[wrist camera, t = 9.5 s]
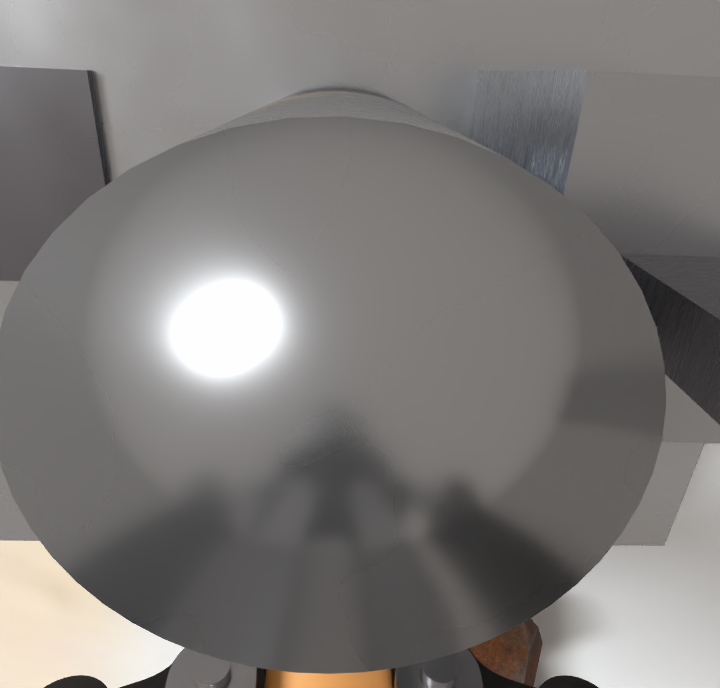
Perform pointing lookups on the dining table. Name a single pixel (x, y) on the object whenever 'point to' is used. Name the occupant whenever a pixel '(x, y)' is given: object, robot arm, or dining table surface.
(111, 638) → the dining table surface
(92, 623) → the dining table surface
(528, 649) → the bolt
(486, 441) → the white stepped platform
